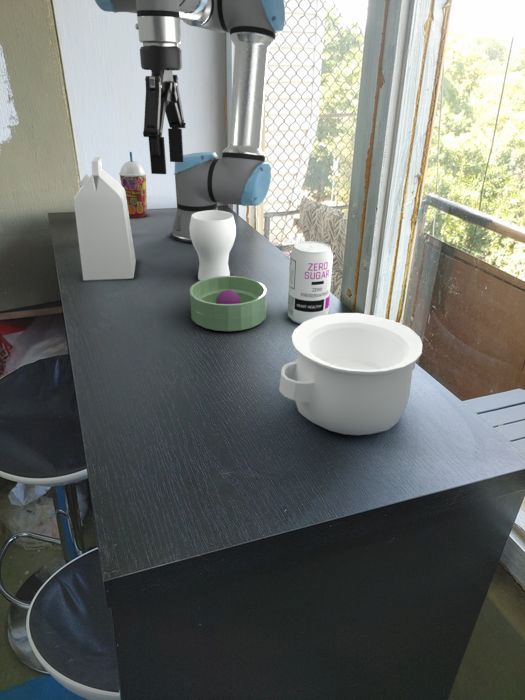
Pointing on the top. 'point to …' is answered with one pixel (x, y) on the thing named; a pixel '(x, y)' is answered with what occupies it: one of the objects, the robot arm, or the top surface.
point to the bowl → (228, 314)
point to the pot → (351, 371)
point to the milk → (103, 227)
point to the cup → (212, 241)
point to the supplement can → (309, 280)
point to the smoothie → (134, 188)
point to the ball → (228, 298)
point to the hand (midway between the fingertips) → (168, 167)
